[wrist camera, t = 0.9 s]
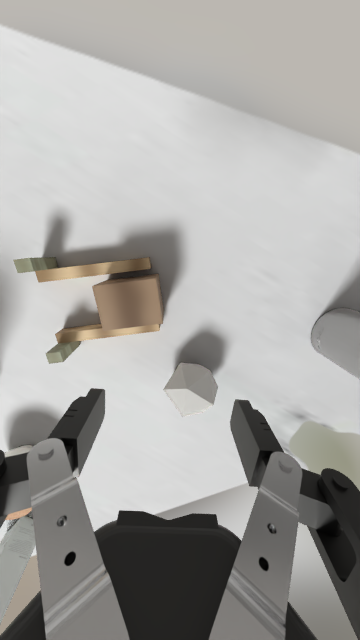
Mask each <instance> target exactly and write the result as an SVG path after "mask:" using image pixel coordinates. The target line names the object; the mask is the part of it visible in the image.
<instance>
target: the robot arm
mask: <svg viewBox="0 0 360 640" xmlns="http://www.w3.org/2000/svg"><path fill="white" fill-rule="evenodd" d="M311 341H312V345H313V347H314V349H315V350H316V351H317V352H319V353H320V354H322V355H323V356H325V357H326V358H328V359H329V360H331V361H332V362H334V363H335V364H337V365H338V366H340V367H341V368H343V369H344V370H346V371H347V372H349V373H350V374H352V375H354V376H355V377H357V378H358V379H360V312H359V311H355V310H352V309H349V308H337V309H333V310H331V311H329V312H327V313H325V314H324V315H323V316H322V317H321V318H320V319H319V320H318V321H317V322H316V324H315V325H314V328H313V330H312V334H311ZM104 414H105V390H104V389H93V388H92V389H90V391H89V392H88V394H87V396H86V397H79V398H78V399H76V400H75V401H74V402H72V404H71V405H70V407H69V408H68V410H67V411H66V413H65V414H64V416H63V417H62V418H61V420H60V421H59V423H58V424H57V426H56V427H55V428H54V430H53V431H52V433H51V434H50V436H49V437H48V439H46V440H43V441H41V442H39V443H37V444H36V445H35V446H33V447H32V448H31V450H30V451H29V452H27V453H23V454H18V455H14V456H9V457H5V454H4V452H3V451H2V450H0V528H1V526H2V524H3V522H4V521H5V519H6V517H7V516H8V514H11V513H14V512H18V511H21V510H24V509H28V508H31V507H32V515H33V524H34V533H35V542H36V551H37V560H38V568H39V577H40V586H41V590H40V592H39V593H38V594H37V595H36V596H35V597H34V598H33V599H32V600H31V602H30V603H29V604H28V605H27V606H26V607H25V608H24V610H23V611H22V612H21V613H20V614H19V615H18V616H17V617H16V618H15V619H14V621H13V622H12V623H11V624H10V625H9V626H8V627H7V628H6V630H5V631H4V632H3V633H2V634H1V635H0V640H317V638H316V637H315V636H314V634H313V633H312V632H311V630H310V629H309V628H308V627H307V625H306V624H305V623H304V621H303V620H302V619H301V617H300V616H299V615H298V613H297V612H296V611H295V610H294V608H293V607H292V606H291V604H290V603H289V602H288V596H289V588H290V580H291V573H292V566H293V558H294V551H295V543H296V536H297V527H298V522H300V523H302V524H304V525H307V527H308V528H309V531H310V533H311V536H312V538H313V540H314V542H315V544H316V547H317V549H318V551H319V553H320V556H321V558H322V560H323V562H324V564H325V567H326V569H327V571H328V574H329V576H330V578H331V580H332V582H333V584H334V587H335V589H336V591H337V593H338V596H339V598H340V600H341V603H342V605H343V607H344V609H345V612H346V614H347V616H348V618H349V620H350V622H351V625H352V627H353V629H354V632H355V634H356V636H357V638H358V640H360V491H359V490H358V489H357V487H356V486H355V485H354V483H353V482H352V481H351V480H350V479H349V478H348V477H346V476H345V475H344V474H342V473H340V472H339V471H336V470H334V469H330V468H329V469H328V468H327V469H323V471H322V472H321V475H319V474H316V473H313V472H310V471H307V470H305V469H302V468H301V467H300V465H299V464H298V462H297V461H296V460H295V459H294V458H293V457H291V456H290V455H288V454H286V453H284V451H283V449H282V448H281V446H280V444H279V442H278V441H277V439H276V437H275V435H274V433H273V432H272V431H271V428H270V426H269V425H268V423H267V421H266V419H265V417H264V416H263V415H262V414H261V413H260V412H259V411H258V410H255V409H253V408H252V406H251V404H250V402H249V401H248V400H237V399H236V400H235V402H234V406H233V411H232V415H231V421H230V426H231V431H232V434H233V437H234V440H235V444H236V447H237V450H238V453H239V456H240V459H241V462H242V465H243V468H244V471H245V474H246V477H247V480H248V483H249V486H254V487H258V490H259V491H258V494H257V497H256V500H255V503H254V506H253V509H252V512H251V515H250V518H249V521H248V524H247V527H246V530H245V533H244V536H243V539H242V541H241V540H240V539H239V538H238V537H237V536H236V535H235V534H234V533H232V532H231V531H230V530H228V529H226V528H225V527H223V526H221V525H218V522H217V516H216V514H189V515H186V516H183V517H179V518H175V519H172V520H165V519H163V518H160V517H157V516H154V515H152V514H149V513H146V512H143V511H119V514H118V519H117V520H116V521H113V522H110V523H108V524H106V525H104V526H102V527H101V528H99V529H98V530H96V531H95V532H94V531H93V528H92V525H91V522H90V518H89V515H88V512H87V509H86V506H85V502H84V499H83V496H82V493H81V490H80V486H79V483H78V480H77V478H76V477H79V475H80V473H81V471H82V468H83V466H84V464H85V461H86V459H87V457H88V455H89V452H90V450H91V448H92V445H93V443H94V441H95V438H96V436H97V434H98V431H99V429H100V427H101V424H102V422H103V419H104ZM74 477H75V478H74Z"/></svg>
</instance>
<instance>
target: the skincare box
mask: <svg viewBox="0 0 360 640" xmlns="http://www.w3.org/2000/svg"><path fill="white" fill-rule="evenodd" d="M35 545H36V542H35V533H34V524H33V519H32V518H30V517H27V516H23V517H21V518H19V520H18V521H17V522H16V523H15V524H14V525H13V527H12V528H11V529H10V530H9V531H7V533H6V534H5V536H4V537H3V539H2V541H1V543H0V624H1V621H2V619H3V617H4V614H5V612H6V610H7V608H8V606H9V603H10V601H11V599H12V597H13V595H14V592H15V590H16V588H17V586H18V583H19V581H20V579H21V576H22V574H23V572H24V570H25V568H26V565H27V563H28V561H29V559H30V556H31V554H32V552H33V550H34V547H35Z"/></svg>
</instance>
